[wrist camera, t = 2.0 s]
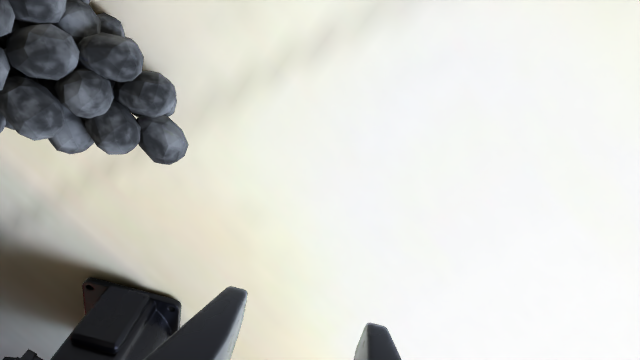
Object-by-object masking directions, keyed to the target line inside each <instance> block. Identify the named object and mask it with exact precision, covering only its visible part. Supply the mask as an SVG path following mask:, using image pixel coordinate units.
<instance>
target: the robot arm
mask: <svg viewBox="0 0 640 360" xmlns="http://www.w3.org/2000/svg"><path fill="white" fill-rule="evenodd" d="M82 287H83V297H84V308H85V316H84V317H83V319H82V320H81V321H80V322H79V324H78V325H77V326H76V328H75V329H74V330H73V331H72V333H71V334H70V335H69V337H68V338H67V339H66V340H65V342H64V343H63V344H62V345H61V347H60V348H59V349H58V351H57V352H56V353H55V354H54V356H53V357H52V358H51V359H50V360H230V359H231V356H232V352H233V349H234V346H235V343H236V340H237V337H238V334H239V331H240V328H241V325H242V321H243V317H244V311H245V306H246V300H247V294H248V293H247V291H246V290H244V289H240V288H236V287H232V286H230V287H227V288H226V289H225V290H224V291H223V292H221V293H220V294H219V295H218V296H217V297H216V298H214V299H213V300H212V301H211V302H210V303H209V304H207V305H206V306H205V307H204V308H203V309H202V310H200V311H199V312H198V313H197V314H196V315H195V316H194V317H192V318H191V319H190V320H189V321H188V322H187V323H185V324H184V325H183V326H182V327H181V328H180V317H181V304H180V302H179V301H177V300H175V299H172V298H168V297H164V296H160V295H157V294H153V293H149V292H145V291H141V290H137V289H134V288H130V287H126V286H122V285H118V284H115V283H111V282H107V281H103V280H99V279H95V278H87V279H86V281H85V282H84V283H83V285H82ZM36 355H37V354H36V353H35V352H33V351H31V350H29V349H28V350H27V352H26V353H25V354H24V355H23V356H22V357H21V358H19V357H17V358H13V357H4V359H3V360H43V359H41V358H39V357H38V356H36ZM354 360H401V358H400V355H399V353H398V351H397V349H396V347H395V344H394V342H393V340H392V338H391V336H390V334H389V331H388V329H387V328H386V327H384V326H381V325H377V324H374V323H367V324H366V326H365V328H364V330H363V333H362V335H361V338H360V340H359V343H358V345H357V348H356V352H355V357H354Z"/></svg>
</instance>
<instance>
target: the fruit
mask: <svg viewBox="0 0 640 360" xmlns="http://www.w3.org/2000/svg"><path fill="white" fill-rule="evenodd" d="M89 3H90V0H0V133H1V132H2V131H3V129H4V127H7V128H10V129H13V130H16V131H17V132H18V134H20V135H23V136H25V137H27V138H30V139H32V140H34V141H35V140H41V139H47V138H48V139H49V141H50V142H51V144H52V145H53V146H54V147H55V148H56V149H57V150H58V151H61V152H65V153H68V154H74V153H79V152H83V151H85V150H87V149H88V148H89V147H90V146H91V145H92V144H93V143H94V142H95V144H96V145H97V147H99V148H100V149H102V150H103V151H104V152H106V153H107V154H126V153H128V152H130V151H131V150H133V149H134V148H135V147H136V146H137V144H139V146H140V147H141V148H142V149H143V150H144V151H145V152H146V154H147V155H148V156H149V157H150V158H151V159H152V160H153V161H154V162H156V163H161V164H168V165H170V164H172V163H174V162H177V161H178V160H180V159H181V158H182V157H184V156H185V153H186V150H187V147H188V142H187V140H186V138H185V136H184V133H183V131H182V129H180V128H179V127H178V126H177V125H176V124H175V123H174V122H173V121H172V120H171V119H170V118H169V117H168V116H170V115H172V114H173V113H174V110H175V106H176V101H177V100H176V92H175V87H174V85H173V84H172V83H171V82H170V81H169V80H168V79H167V78H165V77H164V76H163V75H161V74H160V73H158V72H152V71H147V70H146V71H142V66H143V59H144V57H143V55H142V53H141V51H140V49H139V47H138V45H137V44H136V43H135V42H134V41H133V40H132V39H130V38H126V37H125V34H124V30H123V28H122V25H121V22H120V21H119V20H117V19H116V18H114V17H112V16H110V15H107V14H105V13H101V14H97V15H96V13H95V12H94V11H93V9H92V8H91V6H90V5H89ZM130 112H131V113H132V114H134V115H135V116H137V117H138V118H137V119H136V118H135V117H134V116H133V115H132V114H131V113H130Z"/></svg>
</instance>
